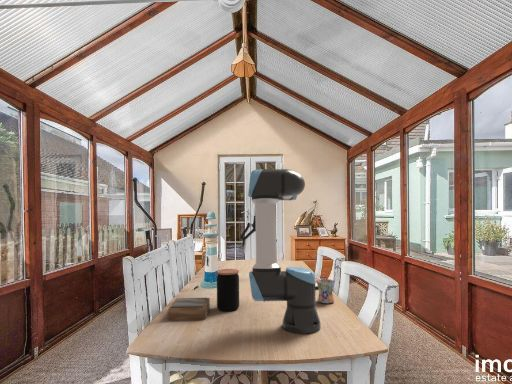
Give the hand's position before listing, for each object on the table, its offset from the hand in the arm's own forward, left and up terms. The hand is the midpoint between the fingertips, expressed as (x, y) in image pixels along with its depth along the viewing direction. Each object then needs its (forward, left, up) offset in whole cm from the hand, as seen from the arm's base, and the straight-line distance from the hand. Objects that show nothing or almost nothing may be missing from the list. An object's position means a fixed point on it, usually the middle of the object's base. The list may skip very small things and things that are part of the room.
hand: (257, 253), depth 176 cm
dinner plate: (+27, -28, -24) cm, 46 cm away
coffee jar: (-17, +15, -24) cm, 33 cm away
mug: (-8, -34, -24) cm, 43 cm away
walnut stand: (-24, +32, -23) cm, 46 cm away
